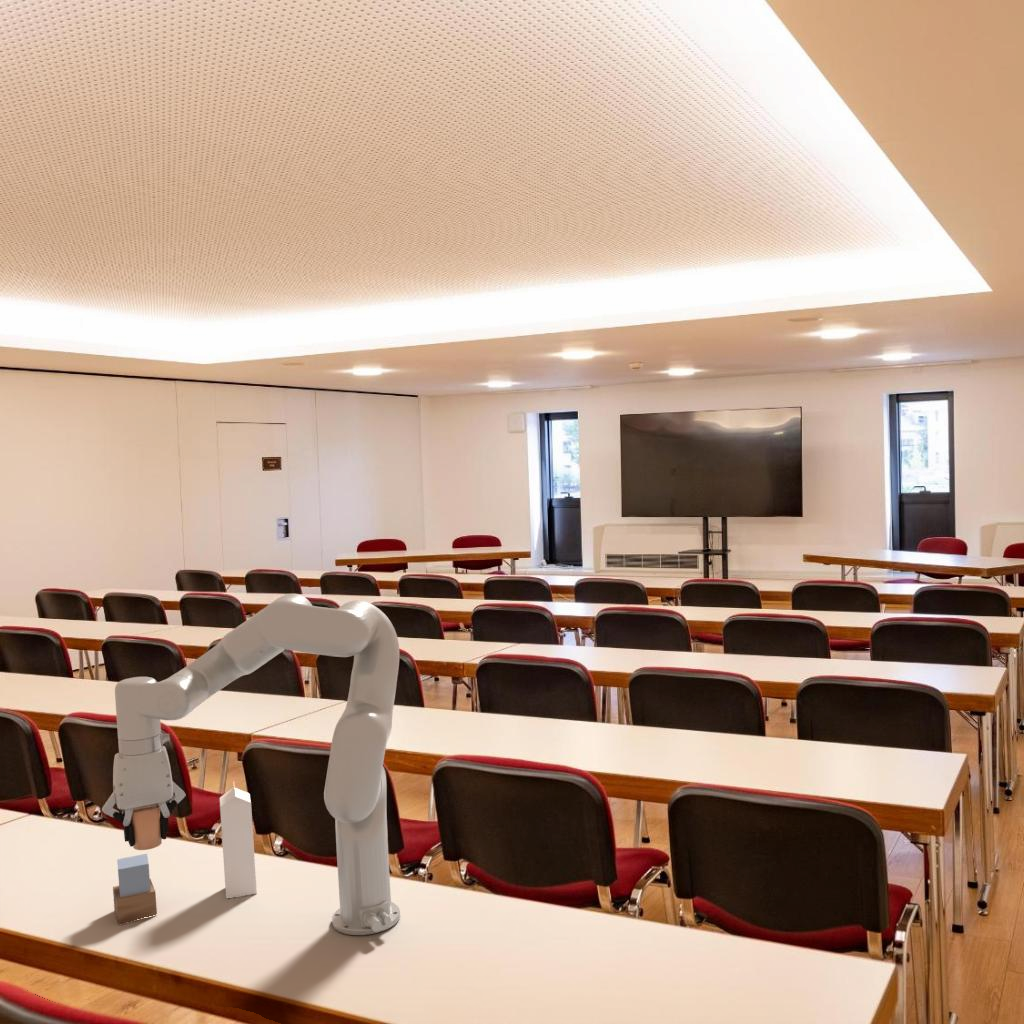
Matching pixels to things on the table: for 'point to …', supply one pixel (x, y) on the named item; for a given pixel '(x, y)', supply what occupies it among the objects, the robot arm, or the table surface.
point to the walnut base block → (134, 905)
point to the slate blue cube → (133, 875)
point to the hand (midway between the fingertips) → (147, 839)
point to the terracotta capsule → (146, 827)
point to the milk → (238, 843)
